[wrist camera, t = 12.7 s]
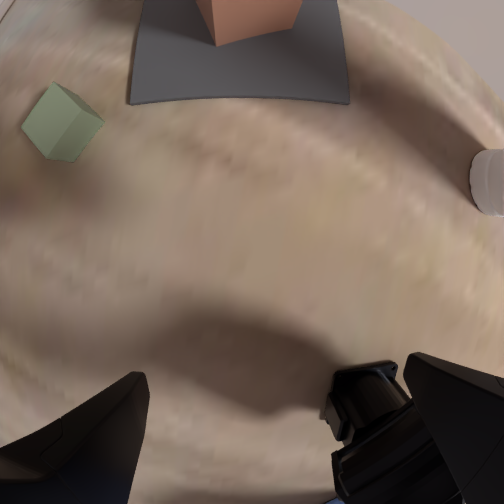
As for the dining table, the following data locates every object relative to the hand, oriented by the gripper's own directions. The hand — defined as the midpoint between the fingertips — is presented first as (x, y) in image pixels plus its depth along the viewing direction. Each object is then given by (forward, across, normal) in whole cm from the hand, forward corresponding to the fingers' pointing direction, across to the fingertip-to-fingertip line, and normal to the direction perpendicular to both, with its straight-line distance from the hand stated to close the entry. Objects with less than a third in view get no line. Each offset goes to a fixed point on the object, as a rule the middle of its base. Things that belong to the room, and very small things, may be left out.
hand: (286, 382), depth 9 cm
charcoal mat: (+13, +1, -20) cm, 24 cm away
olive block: (+13, +14, -11) cm, 22 cm away
